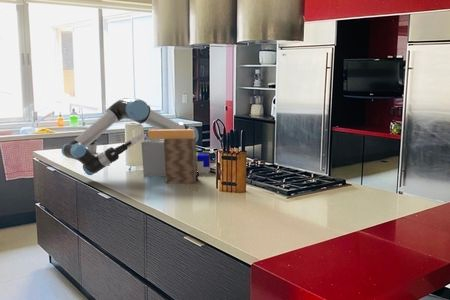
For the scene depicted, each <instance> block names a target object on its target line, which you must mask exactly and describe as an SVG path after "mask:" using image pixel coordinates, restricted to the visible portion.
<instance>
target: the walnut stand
mask: <svg viewBox="0 0 450 300" xmlns="http://www.w3.org/2000/svg"><path fill="white" fill-rule="evenodd" d="M163 140H164V151H165V169H166V176H165V181H166V183H167V184H194V183H196V181H197V180H196V175H197V176H198V173H197V155H196V152H197V142H196V137H195V138H194V139H163Z"/></svg>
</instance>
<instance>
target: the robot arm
mask: <svg viewBox="0 0 450 300" xmlns="http://www.w3.org/2000/svg"><path fill="white" fill-rule="evenodd" d="M124 119H127V120H131V121H134V122H136V123H137V124H146V125H148V126H149V127H153V128H155V129H194V130H195V137H196V143H197V142H198V140H199V130H198V129H197V128H196V127H194V126H190V125H187V124H185V123H183V122H181V121H180V122H176V121H174V120H172V119H170V118H168V117H167V116H164V115H162V114H160V113H158V112H157V111H154V110H152V108H151V106H150V105H148V103H147V102H145V101H144V100H142V99H140V98H126V97H125V98H121V99H119V100H117V101H116V102H114V103H112V104H111V105H110V106H109V107H108V108H107V109H105V113H104V114H103V115H101V116H100V117H99V118H98V119H97V120H95V121H94V122H93V123H92V124H91V125H89V127H87V128H86V129H85V130H84V131H83V132H82V133H80V134H79V135H78V136H77V137H76V138H75V139H74V140H72V141H71V142H70V143H65V144H64V145H62V147H61V153H62V155H63V156H64V157H66V158H67V159H73V160H76V161H78V162H79V163H80V164H82V170H83V171H84V174H86V175H87V176H93V175H94V174H96V173H98V172H100V171H101V170H103V169H104V168H106V167H110V164H113V163H114V162H115V161H117V160H119V158H120V156H119V155H121V154H122V153H124V152H125V151H127V150H128V149H129V148H130V147H131V146H133V145H135V144H137V143H138V142H140V141H142V140H143V139H144V138H146V136H147V135H146V134H145V133H144V132H141V133H140V134H138V135H137V136H134V137H132V138H131V139H130V140H127V141H126V142H125V143H123V144H121V145H119V146H117V147H115V148H114V147H112V146H111V147H108V148H107V149H106V150H104V151H102V152H101V153H99V154H98V155H95V154H94V153H91V152H90V151H89V150H88V148H87V146H88V145H89V144H91V143H92V142H93V141H94V140H95V139H97V138H99V137H100V136H102V134H103V133H105V132H106V131H107V130H108V129H109V128H111V127H112V126H113V125H114V124H116V123H119V122H120V121H122V120H124Z"/></svg>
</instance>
